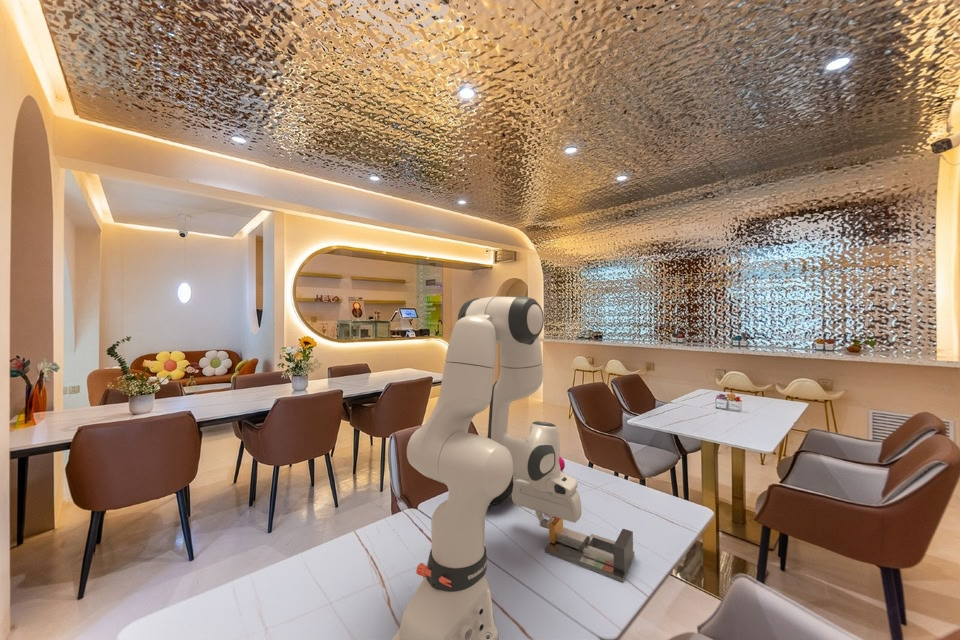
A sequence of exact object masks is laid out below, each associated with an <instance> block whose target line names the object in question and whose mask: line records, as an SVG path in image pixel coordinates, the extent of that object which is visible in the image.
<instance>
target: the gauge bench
mask: <svg viewBox="0 0 960 640" xmlns="http://www.w3.org/2000/svg"><path fill="white" fill-rule="evenodd" d="M589 536H590V537H593V547H592V546H589V545H586V546H585V548H584V550H583V551H582V552H581V551H579V549H576V548H574V547H571V546H568V545H565V544H562V543H560V542H557V541H556V543H555V544H554V543H551V542H549V543H547V546H545V548H544V553H546V554H547V555H551V556H553V557H556V558H557V559H562V560H564V561H566V562H569V563H571V564H574V565H576V566H579V567H582V568H584V569H587V570H589V571H592V572H595V573H597V574H600V575H603V576H605V577H608V578H609V579H613V580H616V581H618V582H621V583H624V581H625V578H626V576H627V574H628V572H629V569H630V567H631V565H632V562H633V561H634V558H635V550H634V532H633V531H632V530H629V529H625V528H622V529H621V531H620V533H619V534H618V537H617V538H616V540H612V539H610V538H606V537H603V536H599V535H597V534H594V533H591V534H590V535H589Z"/></svg>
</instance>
